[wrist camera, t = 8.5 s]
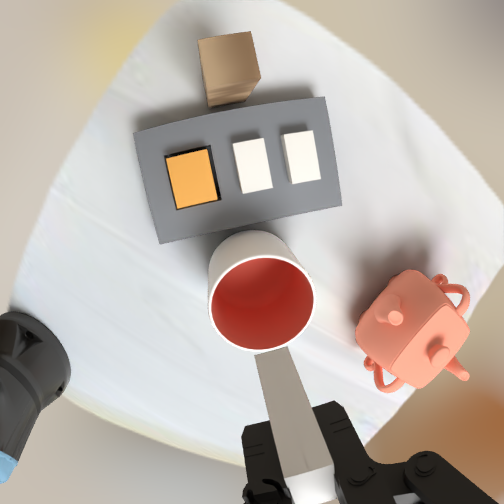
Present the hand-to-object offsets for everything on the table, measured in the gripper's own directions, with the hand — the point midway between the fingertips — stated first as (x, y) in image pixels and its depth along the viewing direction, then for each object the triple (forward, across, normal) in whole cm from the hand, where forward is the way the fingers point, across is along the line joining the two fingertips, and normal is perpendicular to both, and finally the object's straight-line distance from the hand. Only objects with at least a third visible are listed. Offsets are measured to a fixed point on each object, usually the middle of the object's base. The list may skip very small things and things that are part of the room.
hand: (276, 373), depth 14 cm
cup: (+25, +1, -4) cm, 25 cm away
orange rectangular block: (+23, -3, +8) cm, 25 cm away
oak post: (+24, +3, +17) cm, 30 cm away
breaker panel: (+24, +2, +8) cm, 26 cm away
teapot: (+24, +19, -17) cm, 35 cm away
